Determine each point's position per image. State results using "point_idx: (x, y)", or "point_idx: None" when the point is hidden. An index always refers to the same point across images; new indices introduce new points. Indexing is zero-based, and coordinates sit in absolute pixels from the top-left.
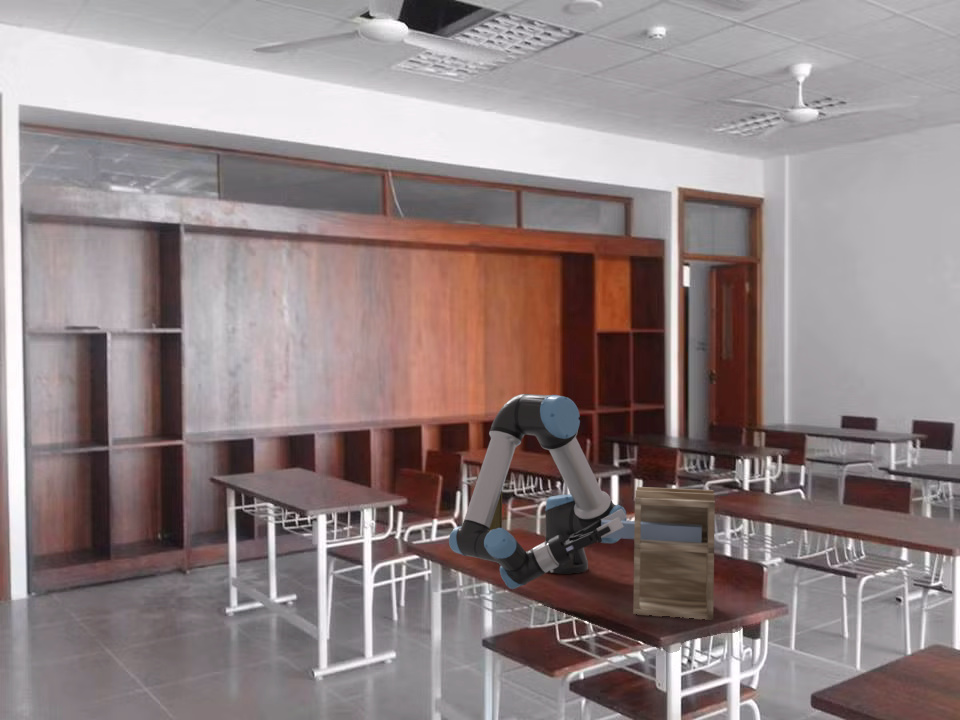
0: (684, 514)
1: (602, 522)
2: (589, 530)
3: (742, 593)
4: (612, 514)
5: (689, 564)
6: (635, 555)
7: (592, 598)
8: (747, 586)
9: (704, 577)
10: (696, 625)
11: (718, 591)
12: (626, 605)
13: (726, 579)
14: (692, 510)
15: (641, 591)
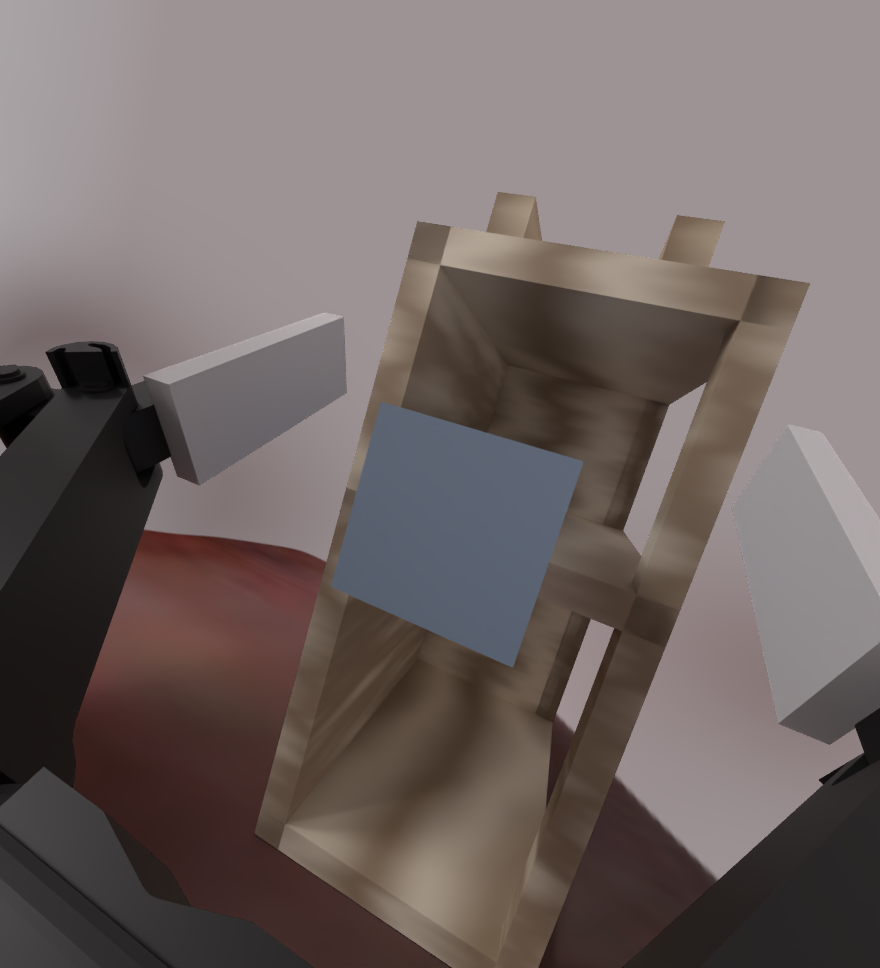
0: (477, 404)
1: (581, 465)
2: (56, 571)
3: (322, 575)
4: (284, 345)
5: None
6: (646, 686)
7: None
8: (277, 548)
9: None
10: (617, 796)
11: (286, 589)
12: (327, 954)
13: (204, 538)
14: (488, 392)
15: (309, 779)
